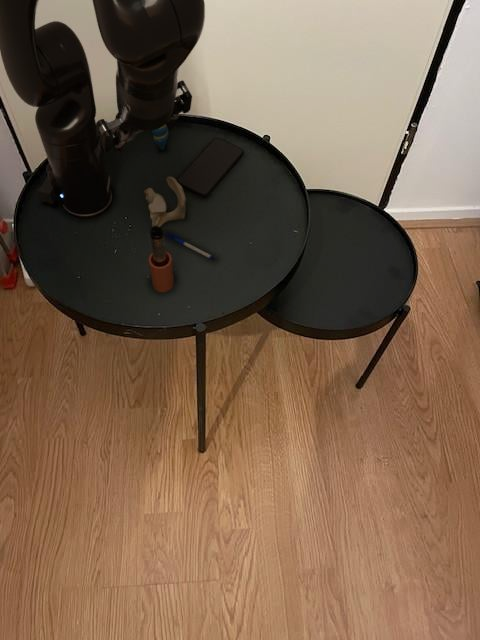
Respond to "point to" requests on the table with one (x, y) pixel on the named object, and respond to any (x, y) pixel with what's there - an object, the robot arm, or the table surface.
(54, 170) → the robot arm
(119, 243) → the table surface
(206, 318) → the table surface
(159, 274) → the pen cup
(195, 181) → the smartphone
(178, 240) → the ballpoint pen
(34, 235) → the table surface
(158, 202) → the bone
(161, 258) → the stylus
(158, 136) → the ornament
